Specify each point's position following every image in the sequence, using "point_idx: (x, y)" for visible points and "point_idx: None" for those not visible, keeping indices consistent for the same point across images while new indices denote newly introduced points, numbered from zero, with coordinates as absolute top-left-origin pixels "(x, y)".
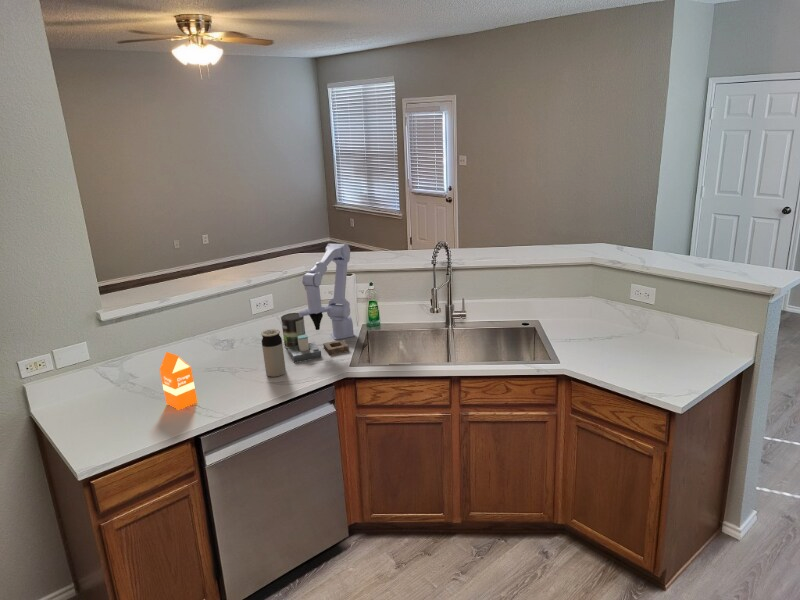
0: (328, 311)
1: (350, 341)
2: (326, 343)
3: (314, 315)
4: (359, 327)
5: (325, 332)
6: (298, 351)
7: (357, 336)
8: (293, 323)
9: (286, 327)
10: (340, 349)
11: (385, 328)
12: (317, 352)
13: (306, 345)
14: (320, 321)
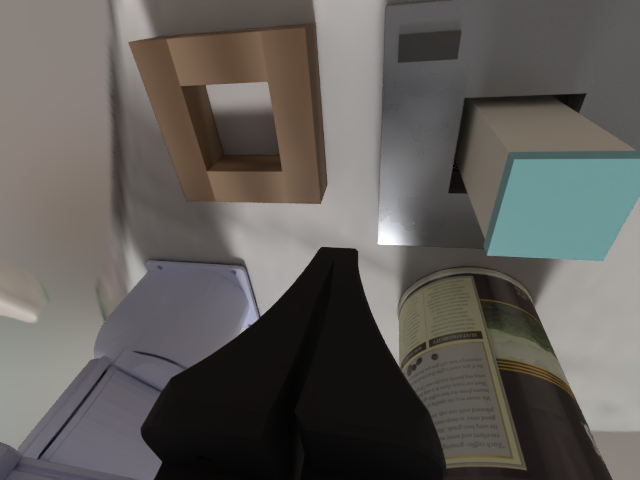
0: (40, 460)
1: (162, 209)
2: (298, 190)
3: (336, 478)
4: None
5: None
6: (591, 112)
7: (132, 251)
8: (545, 455)
9: (591, 438)
10: (204, 34)
11: (17, 269)
12: (424, 2)
13: (513, 123)
14: (265, 314)
